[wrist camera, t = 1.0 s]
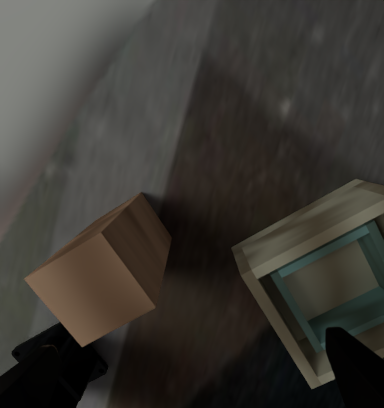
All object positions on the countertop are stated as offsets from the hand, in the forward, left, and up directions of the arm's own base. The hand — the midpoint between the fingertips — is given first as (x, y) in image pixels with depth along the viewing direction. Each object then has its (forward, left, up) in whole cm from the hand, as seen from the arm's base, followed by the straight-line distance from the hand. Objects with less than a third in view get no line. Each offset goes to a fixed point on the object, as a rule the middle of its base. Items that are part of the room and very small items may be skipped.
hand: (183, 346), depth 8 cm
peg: (-4, +2, -13) cm, 14 cm away
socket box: (+7, -9, -13) cm, 17 cm away
